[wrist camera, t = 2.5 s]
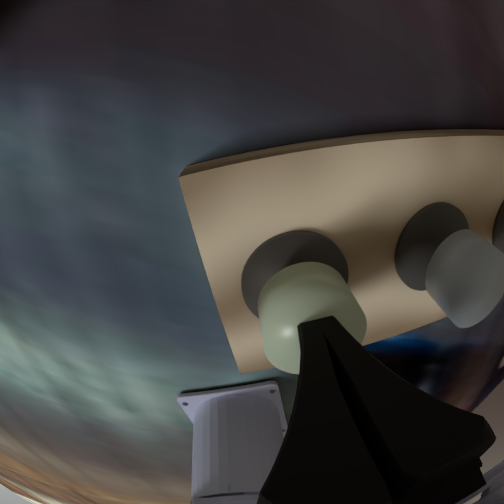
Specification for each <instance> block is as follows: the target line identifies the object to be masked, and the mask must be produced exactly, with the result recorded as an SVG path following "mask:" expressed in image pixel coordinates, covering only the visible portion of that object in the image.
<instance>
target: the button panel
mask: <svg viewBox="0 0 504 504" xmlns="http://www.w3.org/2000/svg"><path fill="white" fill-rule="evenodd" d="M179 181H180V185H181V188H182V192H183V196H184V199H185V203H186V206H187V210H188V213H189V217H190V220H191V224H192V227H193V231H194V234H195V237H196V241H197V244H198V247H199V251H200V254H201V257H202V261H203V264H204V267H205V270H206V273H207V277H208V280H209V283H210V286H211V289H212V292H213V295H214V299H215V302H216V305H217V308H218V311H219V314H220V317H221V320H222V323H223V326H224V329H225V332H226V334H227V337H228V340H229V343H230V346H231V349H232V352H233V355H234V357H235V360H236V363H237V366H238V369H239V371H240V374H243V373H249V372H254V371H260V370H265V369H270V368H275V366H274V365H272V364H271V363H270V361H269V360H268V359H267V357H266V355H265V352H264V346H263V339H262V333H261V327H260V321H259V314H258V308H257V306H258V297H259V295H260V292H261V290H262V288H263V286H264V285H265V284H266V282H267V281H268V280H269V279H270V278H271V277H272V276H273V275H274V274H276V273H277V272H279V271H280V270H282V269H284V268H286V267H288V266H291V265H293V264H297V263H302V262H318V263H323V264H326V265H329V266H330V267H332V268H334V269H335V270H337V271H338V272H339V273H340V274H341V276H342V277H343V279H344V280H345V282H346V284H347V285H348V287H349V289H350V290H351V292H352V294H353V295H354V297H355V298H356V300H357V302H358V303H359V305H360V307H361V308H362V310H363V312H364V314H365V316H366V320H367V330H366V334H365V337H364V339H363V341H362V343H361V345H362V346H364V345H367V344H370V343H374V342H377V341H380V340H383V339H386V338H389V337H392V336H395V335H398V334H401V333H404V332H407V331H410V330H413V329H416V328H419V327H421V326H424V325H427V324H429V323H432V322H435V321H437V320H440V319H442V318H445V317H447V315H446V314H445V312H444V311H443V310H442V309H441V308H440V307H439V305H438V304H437V303H436V302H435V301H434V300H433V298H432V297H431V296H430V295H429V294H428V292H427V290H426V286H425V276H426V271H427V267H428V264H429V262H430V260H431V258H432V256H433V254H434V252H435V251H436V249H437V248H438V247H439V245H440V244H441V243H442V242H443V241H444V240H445V239H446V238H447V237H448V236H450V235H451V234H453V233H455V232H456V231H459V230H463V229H469V230H472V231H474V232H475V233H477V234H478V235H480V236H481V237H482V238H484V239H485V240H487V241H488V242H489V243H491V244H492V245H494V246H495V247H496V248H498V249H499V250H500V251H502V252H503V253H504V130H489V129H443V130H417V131H400V132H387V133H375V134H365V135H355V136H347V137H338V138H330V139H323V140H316V141H309V142H303V143H296V144H290V145H284V146H278V147H273V148H267V149H262V150H257V151H252V152H247V153H242V154H237V155H232V156H228V157H223V158H219V159H214V160H210V161H206V162H202V163H197V164H193V165H189V166H186V167H185V168H184V170H183V171H182V173H181V174H180V176H179Z"/></svg>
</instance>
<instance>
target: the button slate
mask: <svg viewBox="0 0 504 504" xmlns="http://www.w3.org/2000/svg"><path fill="white" fill-rule="evenodd" d="M425 286H426V290H427V292H428V294H429V295H430V296H431V297H432V298H433V300H434V301H435V302H436V303H437V304H438V305H439V307H440V308H441V309H442V310H443V311H444V312H445V314H446V315H447V316H448V317H449V318H450V319H451V321H452V322H453V323H454V324H455V325H456V326H457V327H459V328H467V327H471V326H473V325H475V324H477V323H479V322H480V321H481V320H483V319H484V318H485V317H486V316H487V315H488V314H489V313H490V312H491V311H492V310H493V309H494V308H495V306H496V305H497V304H498V302H499V301H500V299H501V297H502V296H503V294H504V253H503V252H502V251H500V250H499V249H498V248H496V247H495V246H494V245H492V244H491V243H489V242H488V241H487V240H485V239H484V238H482V237H481V236H480V235H478V234H477V233H475V232H474V231H472V230H469V229H463V230H459V231H456V232H455V233H453V234H451V235H450V236H448V237H447V238H446V239H445V240H444V241H443V242H442V243H441V244H440V245H439V247H438V248H437V249H436V251H435V252H434V254H433V256H432V258H431V260H430V262H429V264H428V267H427V271H426V276H425Z"/></svg>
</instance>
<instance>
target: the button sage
mask: <svg viewBox="0 0 504 504" xmlns="http://www.w3.org/2000/svg"><path fill="white" fill-rule="evenodd" d="M257 308H258V314H259V321H260V327H261V333H262V339H263V346H264V352H265V355H266V357H267V359H268V360H269V361H270V363H271V364H272V365H274V366H275V367H276V368H278V369H280V370H282V371H284V372H288V373H292V374H299V370H300V345H299V337H298V329H297V326H298V325H299V324H300V323H303V322H307V321H311V320H316V319H320V318H324V317H328V316H334V317H336V319H337V320H338V321H339V322H340V323H341V324H342V325H343V327H344V328H345V329H346V330H347V331H348V332H349V333H350V334H351V335H352V336H353V337H354V338H355V339H356V340H357V341H358V342H359V343H360V344H361V343H362V341H363V339H364V337H365V334H366V330H367V320H366V316H365V314H364V312H363V310H362V308H361V307H360V305H359V303H358V302H357V300H356V298H355V297H354V295H353V294H352V292H351V290H350V289H349V287H348V285H347V284H346V282H345V280H344V279H343V277H342V276H341V274H340V273H339V272H338V271H337V270H335V269H334V268H332V267H330V266H329V265H326V264H323V263H318V262H302V263H297V264H293V265H291V266H288V267H286V268H284V269H282V270H280V271H279V272H277V273H276V274H274V275H273V276H272V277H271V278H270V279H269V280H268V281H267V282H266V284H265V285H264V286H263V288H262V290H261V292H260V295H259V297H258V306H257Z"/></svg>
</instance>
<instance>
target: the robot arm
mask: <svg viewBox="0 0 504 504" xmlns="http://www.w3.org/2000/svg"><path fill="white" fill-rule="evenodd" d="M297 329H298V337H299V345H300V370H299V378H298V385H297V391H296V397H295V401H294V406H293V410H292V414H291V418H290V421H289V424H288V426H287V422H286V417H285V413H284V409H283V404H282V400H281V396H280V391H279V387H278V383H277V382H276V381H266V382H261V383H255V384H249V385H244V386H237V387H231V388H224V389H217V390H210V391H201V392H193V393H183V394H179V395H178V396H177V401H178V402H179V404H180V405H181V407H182V408H183V410H184V411H185V413H186V414H187V416H188V417H189V418H190V420H191V421H192V423H193V424H194V426H193V454H192V500H191V504H463V503H465V502H466V501H468V500H470V499H472V498H473V497H475V496H476V495H478V494H479V493H481V492H482V494H481V498H480V499H479V500H478V501H476V502H475V503H473V504H504V460H503V461H502V462H500V463H499V464H498V465H496V466H495V467H494V468H492V469H491V470H489V471H488V472H486V473H485V474H483V475H482V472H481V470H480V467H482V462H481V460H480V458H479V457H480V456H482V455H483V454H484V453H485V452H486V451H487V450H488V449H489V448H490V447H491V446H492V444H493V443H494V442H495V439H496V436H495V434H494V432H493V430H492V429H491V427H490V425H489V424H488V423H487V421H486V420H485V418H484V417H483V416H480V415H477V414H474V413H471V412H468V411H465V410H462V409H459V408H457V407H455V406H452V405H450V404H448V403H445V402H443V401H441V400H439V399H437V398H435V397H434V396H432V395H430V394H428V393H426V392H424V391H422V390H420V389H419V388H417V387H415V386H414V385H412V384H411V383H409V382H407V381H406V380H404V379H403V378H402V377H400V376H399V375H397V374H396V373H394V372H393V371H392V370H390V369H389V368H388V367H387V366H385V365H384V364H383V363H382V362H380V361H379V360H378V359H377V358H376V357H374V356H373V355H372V354H371V353H370V352H369V351H368V350H367V349H366V348H364V347H363V346H362V345H361V344H360V343H359V342H358V341H357V340H356V339H355V338H354V337H353V336H352V335H351V334H350V333H349V332H348V331H347V330H346V329H345V328H344V327H343V325H342V324H341V323H340V322H339V321H338V320H337V319H336V317H334V316H328V317H324V318H320V319H316V320H311V321H307V322H303V323H300V324H299V325H298V326H297Z"/></svg>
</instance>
